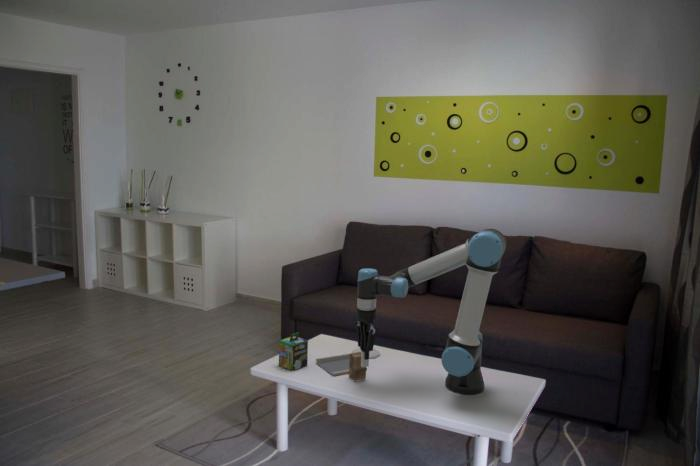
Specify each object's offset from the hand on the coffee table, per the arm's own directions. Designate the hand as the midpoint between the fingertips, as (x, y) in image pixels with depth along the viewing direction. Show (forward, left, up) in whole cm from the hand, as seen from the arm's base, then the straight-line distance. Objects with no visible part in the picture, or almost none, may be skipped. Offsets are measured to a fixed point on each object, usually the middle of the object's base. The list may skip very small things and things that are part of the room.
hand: (364, 366), depth 228 cm
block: (+6, 0, -7) cm, 9 cm away
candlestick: (+30, -18, -7) cm, 36 cm away
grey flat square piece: (+20, 0, -7) cm, 21 cm away
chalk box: (+30, +18, -7) cm, 36 cm away
